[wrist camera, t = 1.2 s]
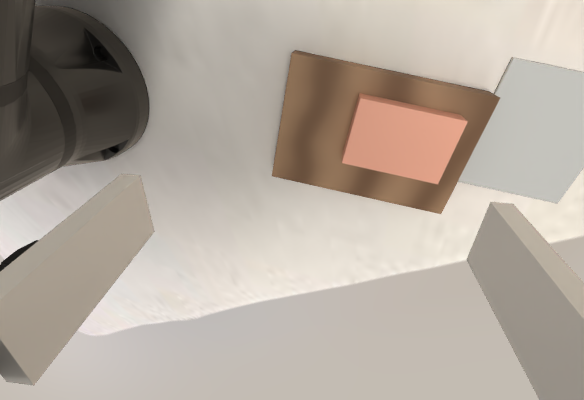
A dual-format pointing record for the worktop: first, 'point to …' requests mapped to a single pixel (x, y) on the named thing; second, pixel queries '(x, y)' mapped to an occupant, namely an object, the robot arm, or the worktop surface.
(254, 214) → the worktop surface
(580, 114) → the mat
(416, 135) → the card
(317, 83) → the deck
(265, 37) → the worktop surface
